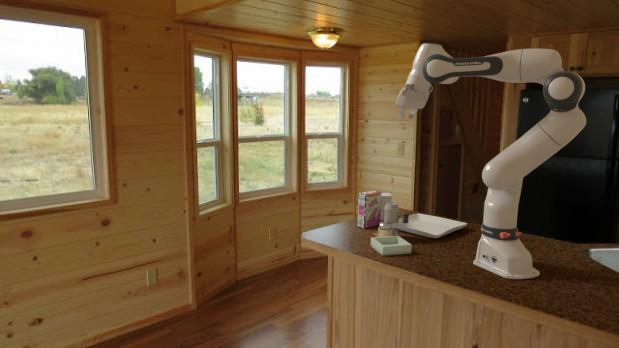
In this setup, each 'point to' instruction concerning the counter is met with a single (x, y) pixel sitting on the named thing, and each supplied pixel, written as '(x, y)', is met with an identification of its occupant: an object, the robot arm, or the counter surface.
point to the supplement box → (384, 203)
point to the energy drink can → (392, 215)
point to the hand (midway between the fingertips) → (405, 118)
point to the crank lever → (395, 223)
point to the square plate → (430, 225)
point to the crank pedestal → (383, 233)
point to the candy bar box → (369, 209)
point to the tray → (390, 245)
